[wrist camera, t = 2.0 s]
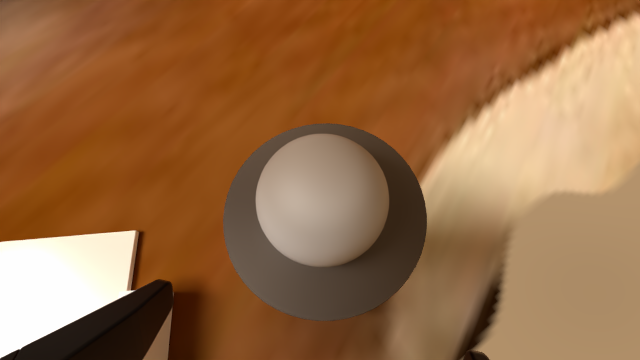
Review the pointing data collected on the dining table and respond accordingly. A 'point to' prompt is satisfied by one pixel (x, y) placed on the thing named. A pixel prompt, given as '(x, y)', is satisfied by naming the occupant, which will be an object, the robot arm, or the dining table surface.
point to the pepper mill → (325, 222)
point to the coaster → (60, 282)
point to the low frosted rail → (158, 338)
